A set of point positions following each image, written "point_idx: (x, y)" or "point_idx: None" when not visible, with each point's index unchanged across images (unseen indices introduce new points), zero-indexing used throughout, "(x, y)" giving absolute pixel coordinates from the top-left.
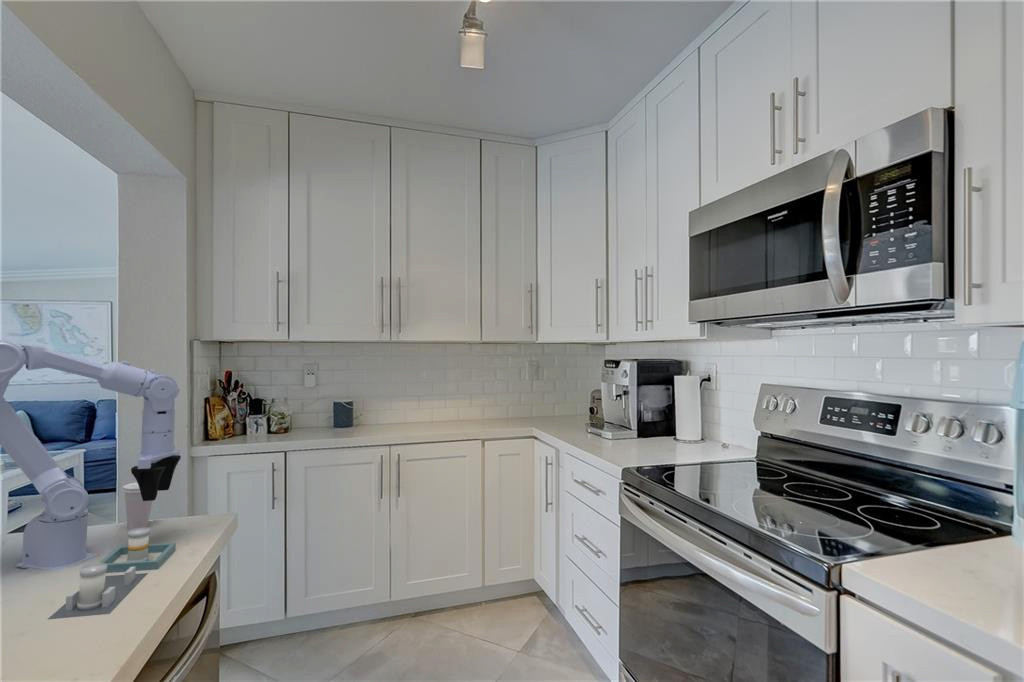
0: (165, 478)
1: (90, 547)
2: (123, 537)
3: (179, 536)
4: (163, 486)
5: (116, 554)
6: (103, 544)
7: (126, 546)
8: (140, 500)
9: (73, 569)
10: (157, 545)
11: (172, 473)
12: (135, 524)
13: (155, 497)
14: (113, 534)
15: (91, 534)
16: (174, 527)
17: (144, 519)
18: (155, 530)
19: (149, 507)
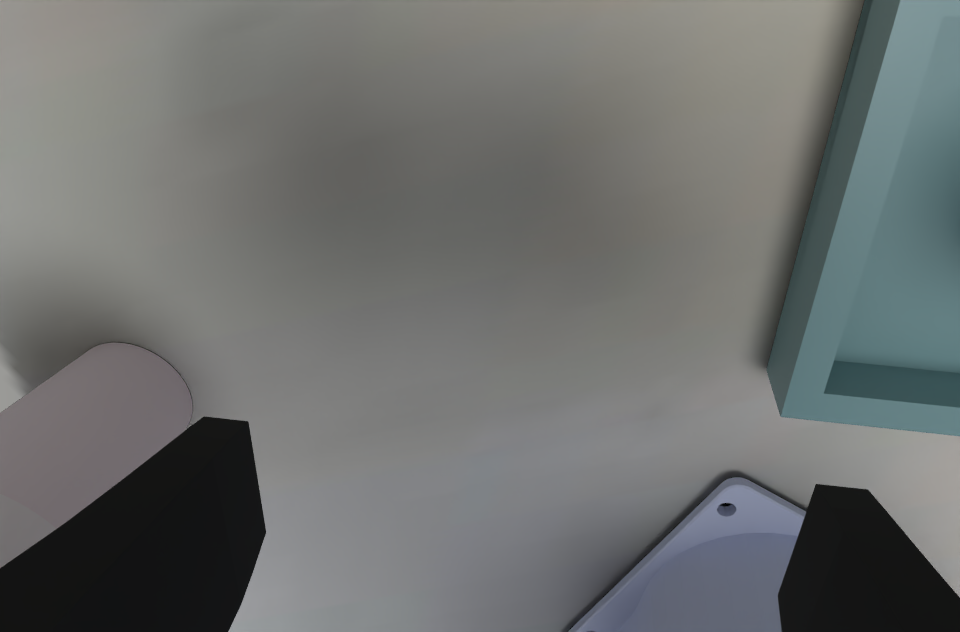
0: (151, 617)
1: (515, 537)
2: (351, 422)
3: (385, 37)
4: (230, 517)
5: (910, 389)
6: (474, 491)
7: (814, 367)
8: None
9: (913, 532)
10: (902, 135)
11: (30, 614)
12: (176, 418)
13: (873, 512)
14: (283, 483)
15: (274, 575)
16: (138, 143)
17: (125, 390)
18: (212, 267)
19: (39, 427)
